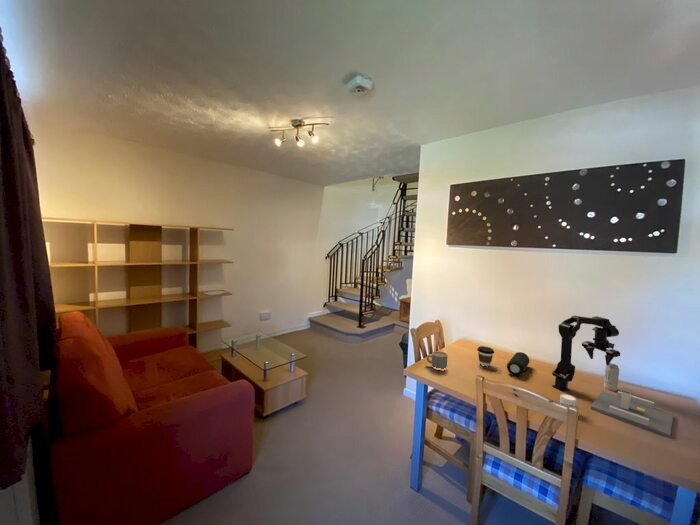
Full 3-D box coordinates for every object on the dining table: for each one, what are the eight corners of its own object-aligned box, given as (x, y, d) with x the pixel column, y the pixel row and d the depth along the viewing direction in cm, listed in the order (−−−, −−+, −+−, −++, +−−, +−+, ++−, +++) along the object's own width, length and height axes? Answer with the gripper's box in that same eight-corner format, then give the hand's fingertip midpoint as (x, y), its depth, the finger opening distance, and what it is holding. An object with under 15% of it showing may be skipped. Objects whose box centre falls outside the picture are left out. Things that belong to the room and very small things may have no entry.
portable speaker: (513, 362, 208) (514, 349, 208) (529, 367, 202) (530, 353, 201) (505, 374, 189) (506, 359, 188) (522, 379, 183) (523, 364, 182)
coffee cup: (483, 369, 195) (484, 352, 195) (472, 362, 206) (473, 346, 205) (496, 368, 198) (498, 351, 197) (485, 361, 209) (486, 345, 208)
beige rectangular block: (620, 407, 150) (621, 389, 149) (621, 403, 153) (623, 387, 153) (628, 410, 148) (630, 392, 147) (629, 406, 151) (631, 389, 150)
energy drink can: (601, 386, 177) (603, 362, 176) (611, 386, 176) (613, 363, 175) (609, 391, 171) (612, 366, 170) (619, 391, 170) (622, 367, 169)
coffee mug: (448, 367, 196) (449, 353, 195) (443, 372, 188) (444, 358, 187) (430, 362, 204) (430, 348, 203) (424, 366, 196) (425, 352, 196)
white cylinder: (576, 415, 145) (577, 402, 144) (559, 410, 148) (560, 398, 148) (574, 409, 150) (575, 396, 150) (558, 404, 154) (559, 392, 153)
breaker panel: (590, 408, 151) (591, 400, 151) (601, 393, 168) (602, 385, 168) (669, 437, 129) (670, 428, 129) (673, 416, 146) (674, 408, 146)
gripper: (628, 341, 168) (626, 367, 169) (595, 331, 186) (594, 354, 187) (613, 343, 166) (611, 369, 167) (581, 333, 184) (580, 356, 185)
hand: (599, 362), depth 177 cm, fingers open, 9 cm apart
